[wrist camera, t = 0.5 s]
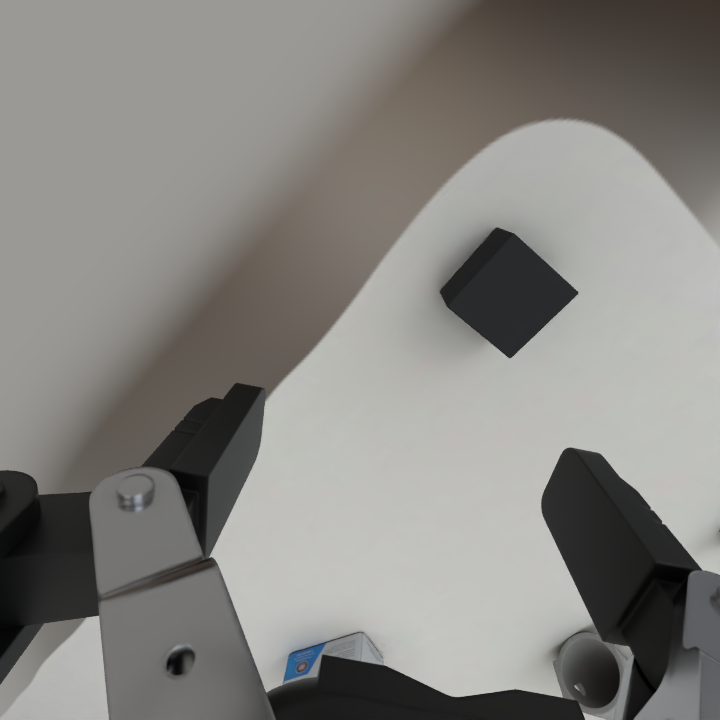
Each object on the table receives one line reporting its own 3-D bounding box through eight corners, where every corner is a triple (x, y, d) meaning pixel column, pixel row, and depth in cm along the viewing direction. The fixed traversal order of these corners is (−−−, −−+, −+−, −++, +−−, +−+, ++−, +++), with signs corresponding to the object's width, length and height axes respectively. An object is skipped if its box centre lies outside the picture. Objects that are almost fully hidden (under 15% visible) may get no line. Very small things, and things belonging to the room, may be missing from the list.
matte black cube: (496, 226, 24) (513, 232, 21) (554, 279, 25) (579, 293, 22) (438, 291, 26) (446, 306, 23) (495, 338, 27) (510, 359, 24)
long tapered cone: (774, 761, 36) (639, 702, 31) (705, 776, 39) (570, 724, 34) (728, 684, 41) (604, 621, 36) (669, 702, 44) (547, 646, 39)
